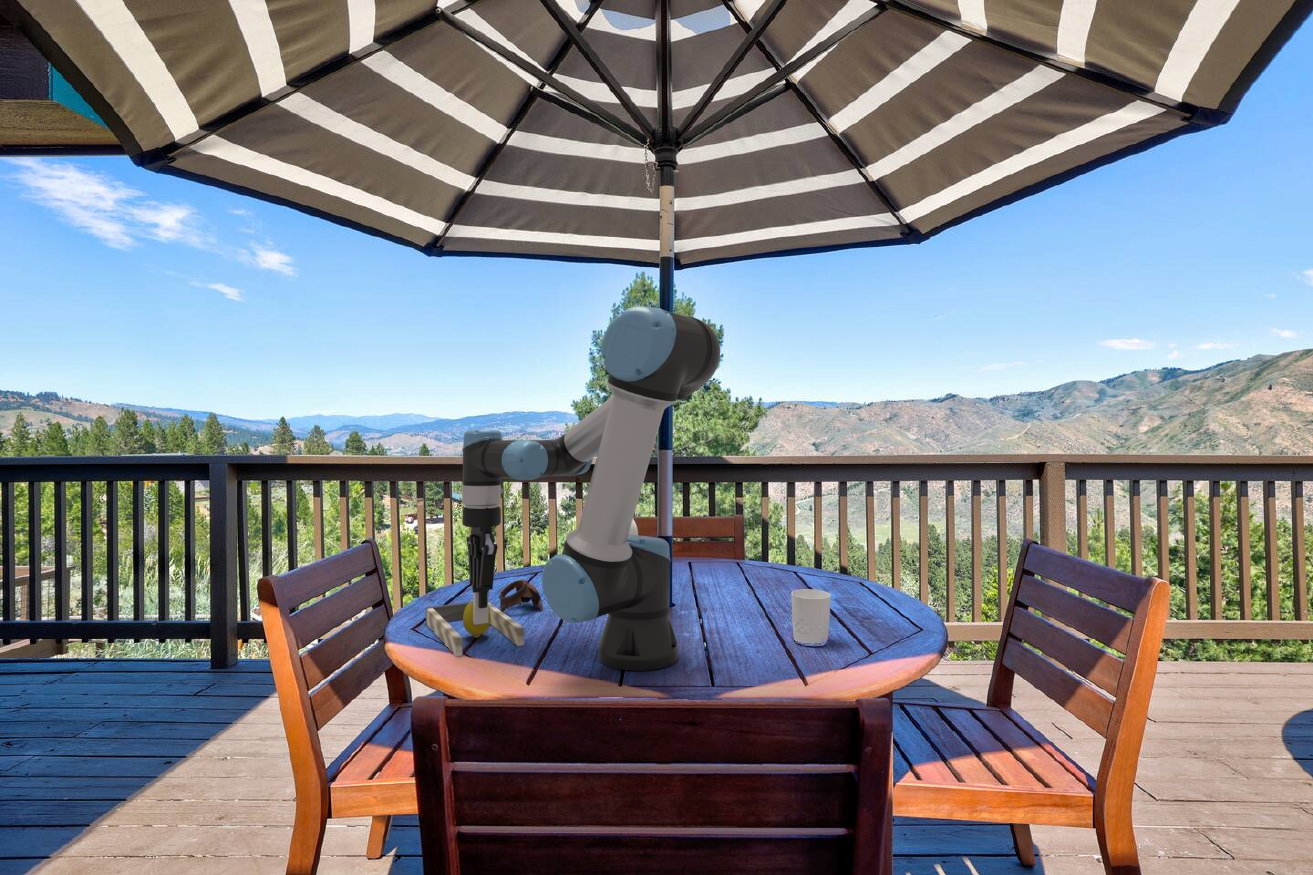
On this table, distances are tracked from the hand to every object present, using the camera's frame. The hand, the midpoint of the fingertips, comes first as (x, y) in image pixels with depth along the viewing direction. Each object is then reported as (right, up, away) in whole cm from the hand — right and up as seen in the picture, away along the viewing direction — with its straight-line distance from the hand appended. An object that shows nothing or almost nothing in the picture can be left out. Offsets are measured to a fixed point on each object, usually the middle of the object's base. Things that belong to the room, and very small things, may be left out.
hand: (480, 622), depth 133 cm
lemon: (-2, -4, +3) cm, 5 cm away
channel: (-3, -4, +6) cm, 8 cm away
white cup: (+67, -5, +2) cm, 67 cm away
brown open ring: (+3, -4, +25) cm, 26 cm away
